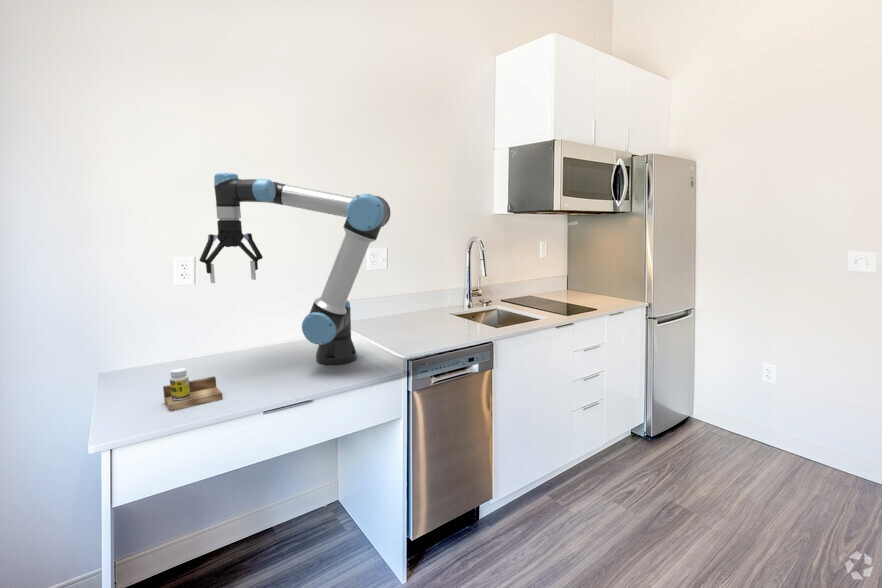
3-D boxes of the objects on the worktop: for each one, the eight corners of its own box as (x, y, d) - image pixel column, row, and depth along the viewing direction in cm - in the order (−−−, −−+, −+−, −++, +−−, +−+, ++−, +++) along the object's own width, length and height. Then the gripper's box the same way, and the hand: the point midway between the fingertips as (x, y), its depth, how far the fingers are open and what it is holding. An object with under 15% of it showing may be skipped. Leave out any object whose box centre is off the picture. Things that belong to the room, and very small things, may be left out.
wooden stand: (215, 391, 148) (214, 376, 148) (222, 399, 142) (221, 383, 142) (164, 402, 140) (163, 386, 139) (169, 411, 134) (168, 394, 133)
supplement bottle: (168, 400, 136) (165, 372, 135) (177, 394, 140) (175, 367, 139) (184, 400, 136) (181, 372, 134) (193, 394, 140) (191, 367, 139)
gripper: (262, 219, 173) (265, 277, 177) (186, 219, 158) (192, 283, 161) (269, 219, 167) (273, 279, 171) (191, 219, 152) (197, 285, 155)
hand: (233, 281), depth 166 cm, fingers open, 13 cm apart
